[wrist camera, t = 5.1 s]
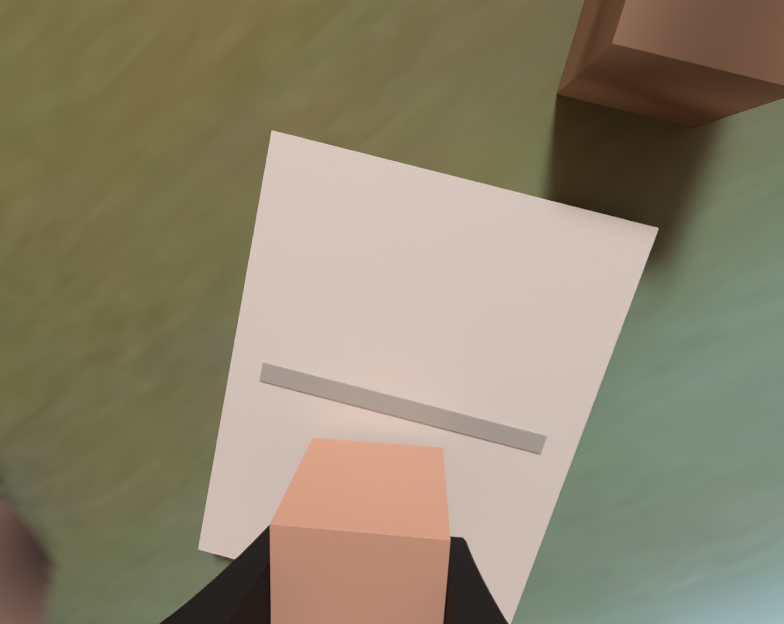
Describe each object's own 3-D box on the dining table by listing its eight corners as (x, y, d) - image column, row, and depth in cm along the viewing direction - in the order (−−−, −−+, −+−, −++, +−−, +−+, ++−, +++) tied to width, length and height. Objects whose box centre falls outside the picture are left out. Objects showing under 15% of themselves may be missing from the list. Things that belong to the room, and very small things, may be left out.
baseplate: (638, 227, 14) (660, 227, 12) (501, 602, 17) (507, 633, 15) (284, 137, 14) (270, 130, 12) (213, 526, 17) (197, 551, 16)
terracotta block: (433, 560, 15) (437, 686, 11) (311, 549, 15) (271, 669, 11) (442, 447, 14) (450, 540, 10) (312, 437, 14) (269, 524, 10)
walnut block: (748, -27, 12) (902, -141, 8) (690, 128, 13) (805, 90, 9) (602, -61, 12) (687, -192, 8) (555, 94, 13) (612, 43, 9)
